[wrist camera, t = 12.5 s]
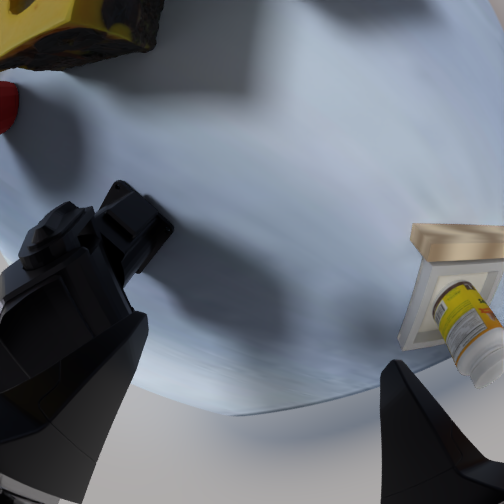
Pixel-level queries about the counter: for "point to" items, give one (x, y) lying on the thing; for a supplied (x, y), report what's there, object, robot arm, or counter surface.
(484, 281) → the square tray
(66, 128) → the counter surface
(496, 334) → the supplement bottle
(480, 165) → the counter surface
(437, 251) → the oak sill
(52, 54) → the yellow and black cube
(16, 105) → the plastic cup
